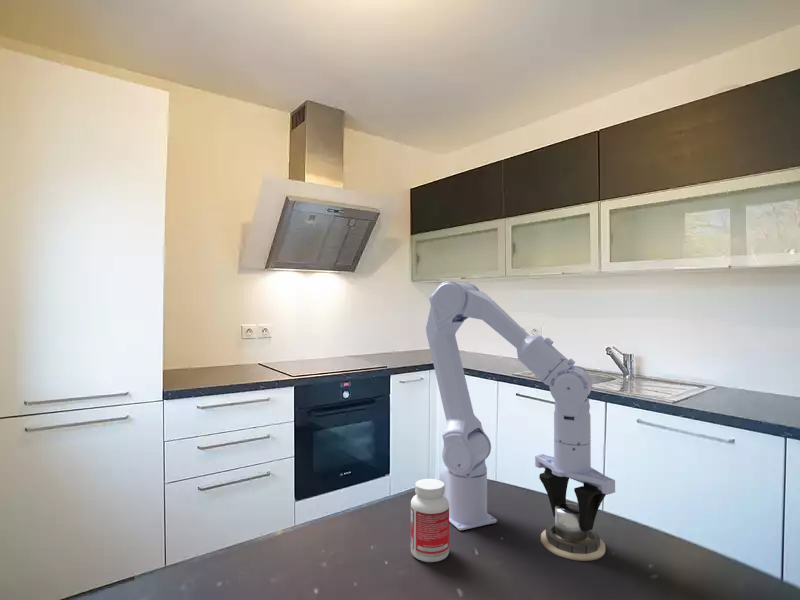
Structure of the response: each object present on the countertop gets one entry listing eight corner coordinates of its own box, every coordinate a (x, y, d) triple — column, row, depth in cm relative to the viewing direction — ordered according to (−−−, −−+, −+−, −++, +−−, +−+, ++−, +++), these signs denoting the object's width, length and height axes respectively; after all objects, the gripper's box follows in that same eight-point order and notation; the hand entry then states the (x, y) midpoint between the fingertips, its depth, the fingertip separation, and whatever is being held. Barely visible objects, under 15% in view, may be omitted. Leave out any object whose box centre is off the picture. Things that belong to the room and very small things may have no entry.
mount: (528, 536, 79) (528, 525, 79) (572, 525, 83) (572, 515, 83) (571, 566, 70) (571, 554, 70) (619, 552, 74) (619, 541, 74)
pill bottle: (457, 556, 73) (457, 485, 73) (426, 568, 69) (426, 494, 69) (433, 539, 78) (433, 473, 78) (403, 550, 74) (403, 481, 74)
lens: (548, 530, 77) (548, 505, 77) (569, 523, 80) (568, 499, 80) (573, 543, 73) (573, 517, 73) (594, 536, 75) (593, 510, 75)
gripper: (522, 433, 81) (522, 511, 81) (593, 456, 68) (594, 548, 68) (550, 428, 84) (551, 502, 84) (623, 449, 72) (624, 536, 72)
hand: (572, 522), depth 76 cm, fingers closed on lens, 5 cm apart
